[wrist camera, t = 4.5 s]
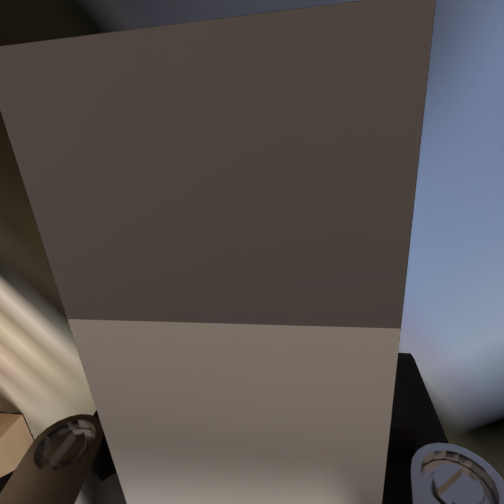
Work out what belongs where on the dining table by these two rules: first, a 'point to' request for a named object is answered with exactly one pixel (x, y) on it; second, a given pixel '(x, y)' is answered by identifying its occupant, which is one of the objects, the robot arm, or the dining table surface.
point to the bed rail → (232, 239)
